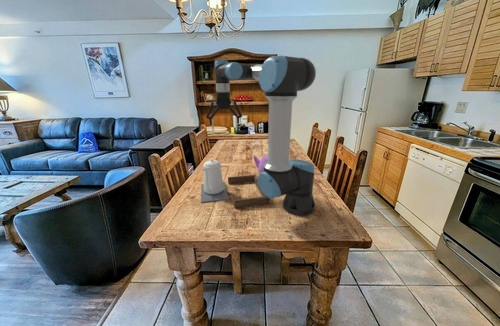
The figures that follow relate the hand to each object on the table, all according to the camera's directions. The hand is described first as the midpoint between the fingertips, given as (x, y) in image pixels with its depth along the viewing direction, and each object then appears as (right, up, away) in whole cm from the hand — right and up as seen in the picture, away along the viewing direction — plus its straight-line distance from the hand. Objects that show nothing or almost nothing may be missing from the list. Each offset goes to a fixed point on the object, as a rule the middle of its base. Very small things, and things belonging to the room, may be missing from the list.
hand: (224, 130), depth 126 cm
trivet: (-6, -35, -5) cm, 36 cm away
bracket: (+12, -35, -6) cm, 38 cm away
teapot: (+27, -27, +20) cm, 43 cm away
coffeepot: (-6, -35, -5) cm, 35 cm away
